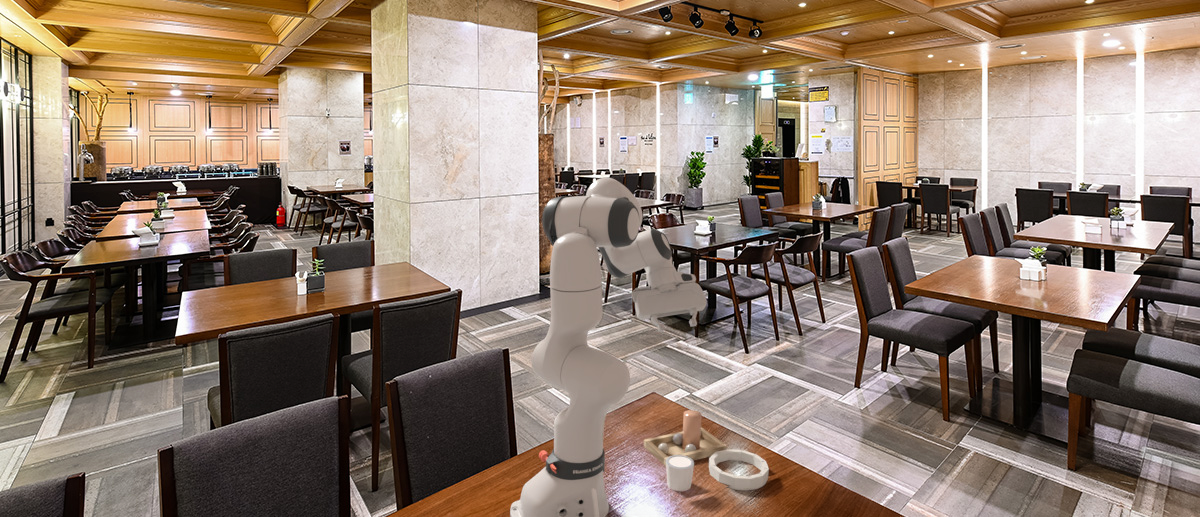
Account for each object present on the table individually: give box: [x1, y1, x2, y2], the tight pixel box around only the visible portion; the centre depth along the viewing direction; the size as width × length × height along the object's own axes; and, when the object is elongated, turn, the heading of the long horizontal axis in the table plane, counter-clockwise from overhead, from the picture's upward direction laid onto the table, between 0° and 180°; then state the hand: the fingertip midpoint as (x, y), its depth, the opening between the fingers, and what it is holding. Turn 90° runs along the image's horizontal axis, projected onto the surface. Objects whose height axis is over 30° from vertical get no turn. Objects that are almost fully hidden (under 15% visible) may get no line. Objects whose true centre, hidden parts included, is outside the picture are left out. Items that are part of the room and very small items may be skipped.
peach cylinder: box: [682, 409, 702, 450], centre depth 167 cm, size 5×5×10 cm
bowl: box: [708, 448, 770, 492], centre depth 156 cm, size 14×14×3 cm
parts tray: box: [643, 426, 728, 467], centre depth 167 cm, size 19×12×3 cm, turn 115°
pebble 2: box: [673, 434, 683, 445], centre depth 170 cm, size 3×3×3 cm
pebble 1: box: [658, 443, 669, 454], centre depth 164 cm, size 3×3×3 cm
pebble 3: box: [685, 444, 696, 452], centre depth 164 cm, size 3×3×3 cm
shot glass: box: [665, 455, 695, 492], centre depth 149 cm, size 7×7×7 cm
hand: (678, 328), depth 168 cm, fingers open, 8 cm apart
